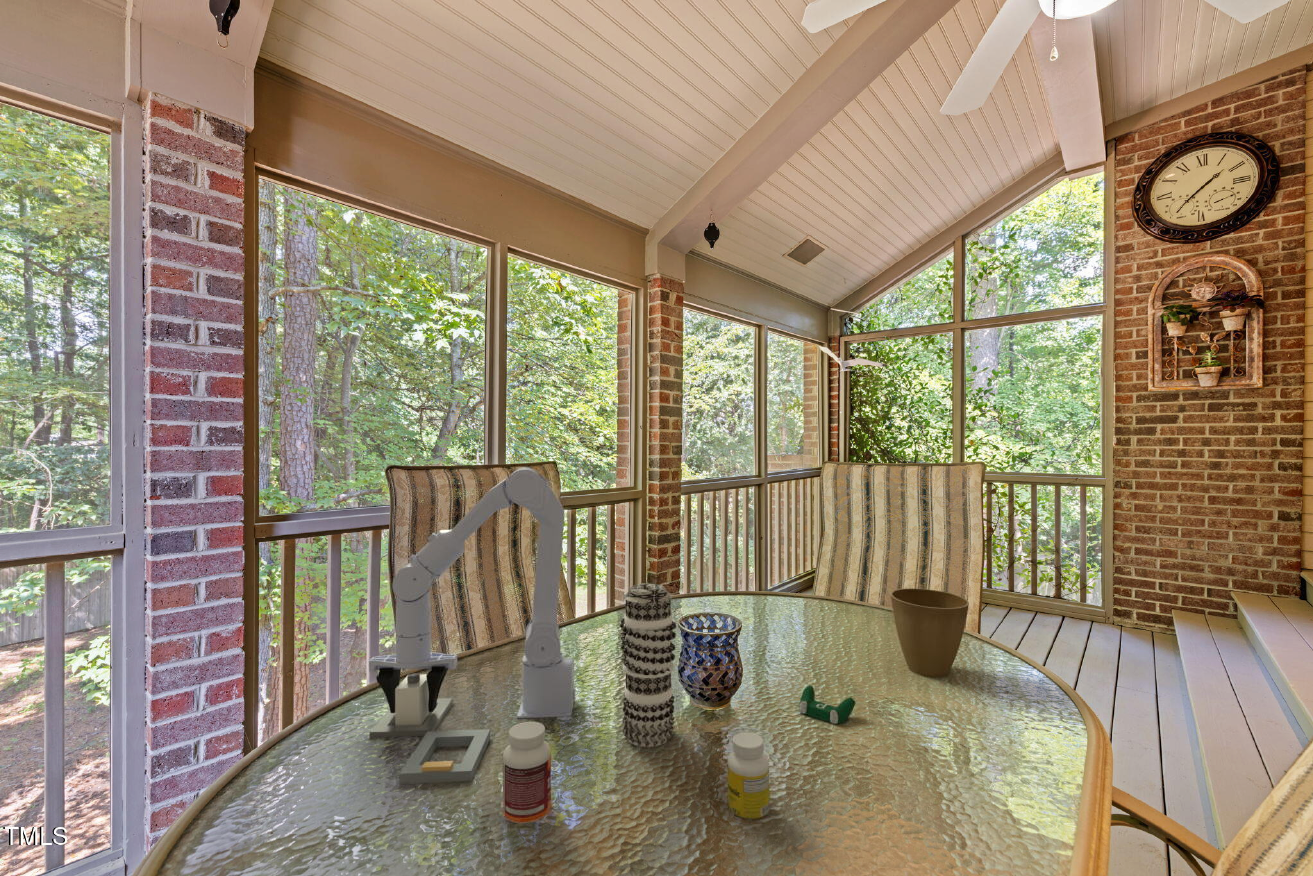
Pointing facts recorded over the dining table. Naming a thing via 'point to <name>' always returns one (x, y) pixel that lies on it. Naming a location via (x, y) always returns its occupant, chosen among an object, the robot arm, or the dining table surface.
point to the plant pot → (929, 628)
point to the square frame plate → (387, 730)
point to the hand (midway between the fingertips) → (413, 710)
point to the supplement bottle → (748, 777)
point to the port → (445, 770)
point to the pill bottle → (526, 774)
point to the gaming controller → (824, 708)
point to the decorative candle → (648, 665)
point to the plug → (412, 700)
